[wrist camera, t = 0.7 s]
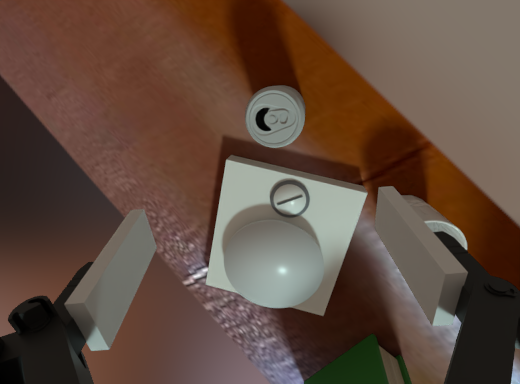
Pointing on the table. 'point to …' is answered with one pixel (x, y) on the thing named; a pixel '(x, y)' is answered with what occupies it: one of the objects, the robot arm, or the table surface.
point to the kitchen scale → (282, 234)
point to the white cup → (434, 219)
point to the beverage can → (275, 115)
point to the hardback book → (363, 367)
